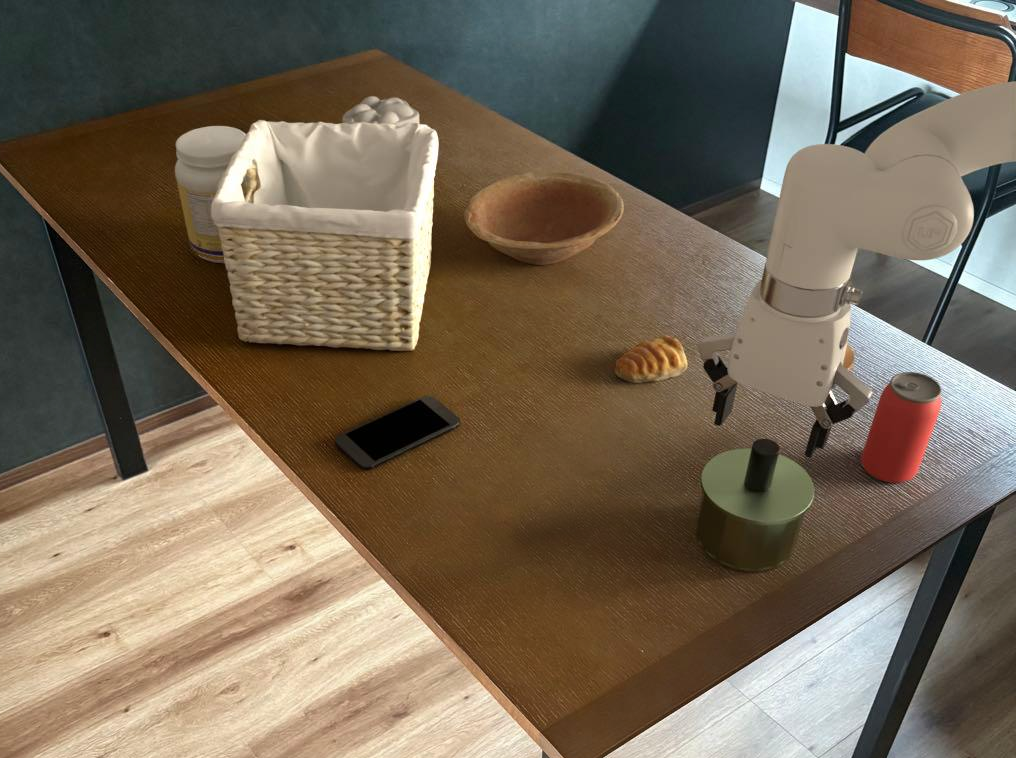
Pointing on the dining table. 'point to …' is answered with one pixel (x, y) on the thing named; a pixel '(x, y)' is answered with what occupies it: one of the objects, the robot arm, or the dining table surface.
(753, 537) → the pot
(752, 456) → the pot lid
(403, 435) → the smartphone
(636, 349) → the pastry
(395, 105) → the lumpy-topped squat cylinder
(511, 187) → the bowl
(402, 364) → the dining table surface
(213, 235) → the supplement tub
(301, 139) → the basket
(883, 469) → the beer can
